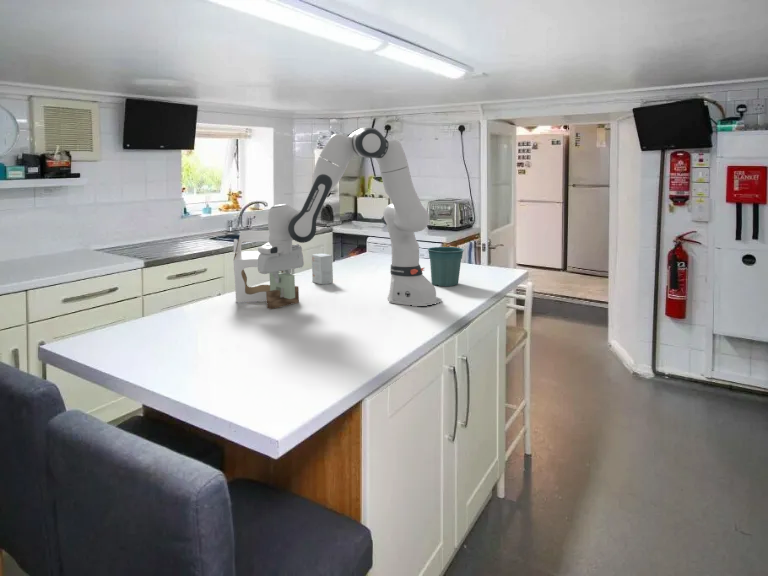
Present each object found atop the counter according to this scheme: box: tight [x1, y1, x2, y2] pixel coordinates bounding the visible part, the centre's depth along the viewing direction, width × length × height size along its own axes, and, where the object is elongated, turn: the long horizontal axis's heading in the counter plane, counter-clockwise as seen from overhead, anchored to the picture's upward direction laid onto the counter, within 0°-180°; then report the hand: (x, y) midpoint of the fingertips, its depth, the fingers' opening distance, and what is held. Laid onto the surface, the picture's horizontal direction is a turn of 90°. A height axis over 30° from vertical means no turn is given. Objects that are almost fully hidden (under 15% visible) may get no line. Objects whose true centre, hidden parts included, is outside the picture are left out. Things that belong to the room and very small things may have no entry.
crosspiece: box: [268, 271, 296, 299], centre depth 226 cm, size 12×2×9 cm, turn 49°
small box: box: [311, 253, 334, 285], centre depth 267 cm, size 8×6×13 cm
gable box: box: [233, 229, 286, 303], centre depth 237 cm, size 22×13×28 cm, turn 101°
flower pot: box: [427, 246, 465, 287], centre depth 263 cm, size 16×16×16 cm
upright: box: [266, 285, 300, 310], centre depth 227 cm, size 14×2×6 cm, turn 139°
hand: (282, 281), depth 226 cm, fingers closed on crosspiece, 2 cm apart
